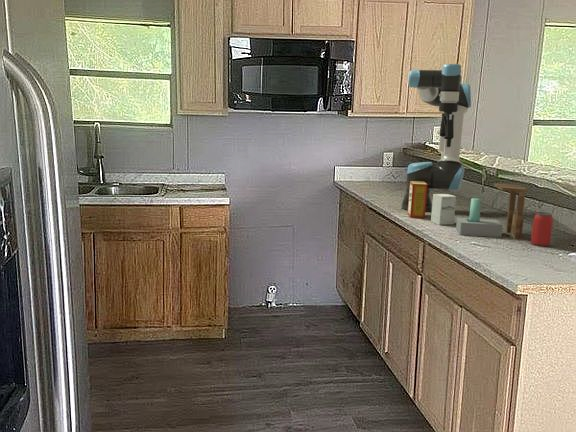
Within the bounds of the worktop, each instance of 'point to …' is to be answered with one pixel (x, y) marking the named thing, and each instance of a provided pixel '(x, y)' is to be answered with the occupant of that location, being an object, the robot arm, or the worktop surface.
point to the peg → (475, 210)
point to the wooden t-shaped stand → (513, 219)
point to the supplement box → (443, 209)
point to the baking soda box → (417, 199)
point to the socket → (479, 227)
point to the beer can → (542, 229)
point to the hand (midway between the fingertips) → (444, 153)
